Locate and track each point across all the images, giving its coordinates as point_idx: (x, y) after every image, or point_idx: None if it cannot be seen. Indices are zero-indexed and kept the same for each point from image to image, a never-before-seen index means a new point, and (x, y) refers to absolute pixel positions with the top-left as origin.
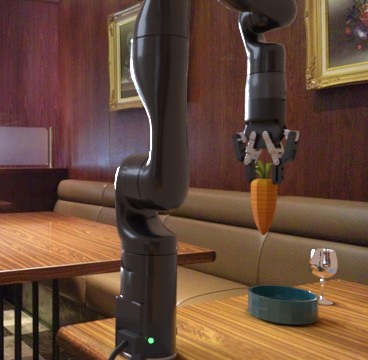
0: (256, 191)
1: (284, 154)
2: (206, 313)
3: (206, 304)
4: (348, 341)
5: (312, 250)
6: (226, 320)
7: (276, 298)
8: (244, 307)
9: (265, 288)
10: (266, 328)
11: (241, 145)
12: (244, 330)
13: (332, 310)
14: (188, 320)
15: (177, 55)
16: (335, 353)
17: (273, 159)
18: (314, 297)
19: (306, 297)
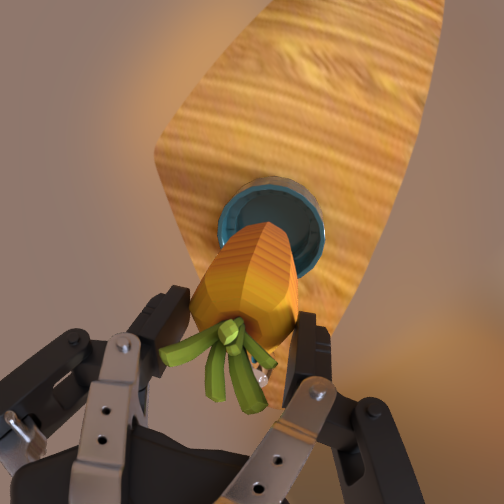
0: (254, 252)
1: (64, 354)
2: (364, 155)
3: (385, 202)
4: (175, 183)
5: (264, 372)
6: (324, 143)
7: (293, 258)
8: (334, 229)
9: (310, 262)
10: (265, 151)
11: (365, 499)
12: (282, 118)
13: None
14: (365, 102)
15: None
16: (168, 129)
17: (132, 358)
18: None
19: None
